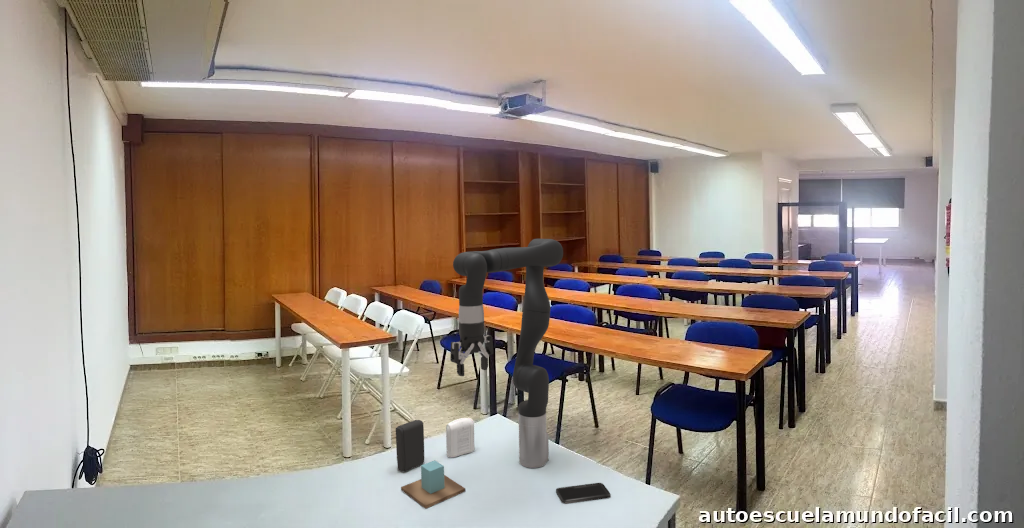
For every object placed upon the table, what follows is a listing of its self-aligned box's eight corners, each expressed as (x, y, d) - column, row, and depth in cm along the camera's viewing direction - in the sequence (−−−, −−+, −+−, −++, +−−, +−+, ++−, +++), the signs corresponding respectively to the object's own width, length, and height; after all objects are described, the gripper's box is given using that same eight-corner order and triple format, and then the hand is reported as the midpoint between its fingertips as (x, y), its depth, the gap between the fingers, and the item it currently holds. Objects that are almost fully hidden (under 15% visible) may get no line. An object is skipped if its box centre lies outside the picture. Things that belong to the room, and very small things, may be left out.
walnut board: (439, 474, 174) (439, 471, 174) (465, 491, 164) (465, 488, 164) (401, 490, 165) (401, 487, 165) (425, 508, 155) (425, 505, 154)
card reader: (419, 460, 185) (417, 417, 183) (426, 463, 182) (424, 420, 180) (396, 469, 178) (394, 426, 176) (403, 473, 175) (401, 429, 174)
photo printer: (470, 447, 194) (469, 413, 193) (476, 451, 190) (475, 417, 189) (444, 454, 188) (443, 420, 187) (450, 459, 185) (449, 424, 183)
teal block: (435, 481, 168) (434, 460, 167) (444, 488, 164) (443, 465, 163) (421, 487, 165) (420, 465, 164) (430, 493, 161) (429, 471, 160)
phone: (611, 495, 159) (562, 501, 156) (611, 499, 159) (562, 505, 156) (601, 482, 166) (554, 487, 163) (601, 485, 166) (554, 491, 163)
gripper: (482, 314, 168) (483, 365, 170) (444, 321, 159) (446, 375, 161) (497, 317, 163) (499, 370, 164) (459, 325, 153) (460, 380, 155)
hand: (472, 372), depth 162 cm, fingers open, 8 cm apart
